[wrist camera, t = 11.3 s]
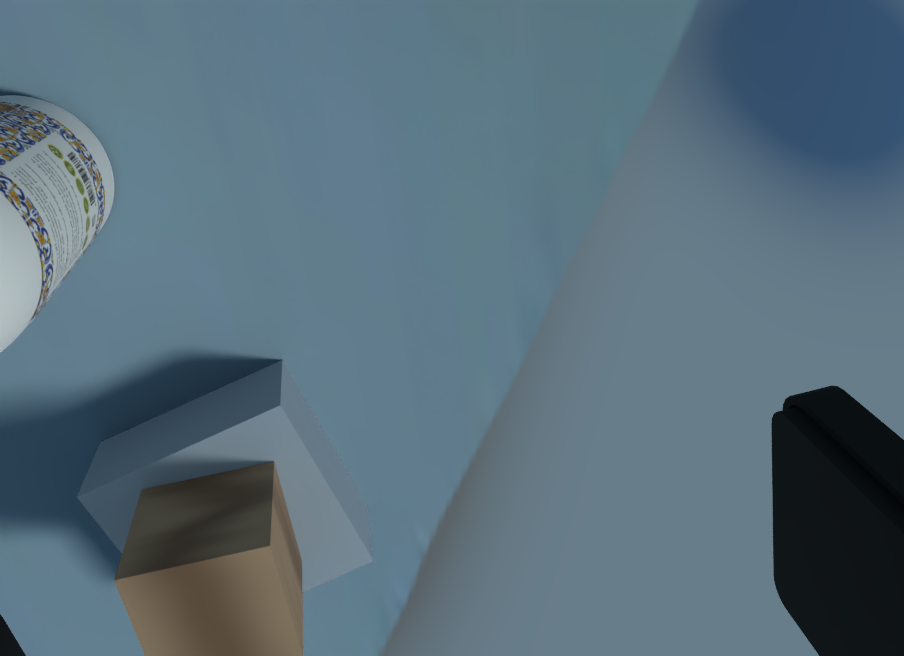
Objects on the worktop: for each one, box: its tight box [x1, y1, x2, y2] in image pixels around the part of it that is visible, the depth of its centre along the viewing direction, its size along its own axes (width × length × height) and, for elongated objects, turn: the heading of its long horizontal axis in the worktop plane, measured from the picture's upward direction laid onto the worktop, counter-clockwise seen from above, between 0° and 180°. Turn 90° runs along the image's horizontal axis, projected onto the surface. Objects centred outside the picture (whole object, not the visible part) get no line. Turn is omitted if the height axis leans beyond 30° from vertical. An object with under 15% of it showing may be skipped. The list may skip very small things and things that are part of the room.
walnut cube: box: [114, 461, 303, 656], centre depth 35 cm, size 6×6×6 cm
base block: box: [77, 360, 374, 593], centre depth 40 cm, size 10×10×5 cm
